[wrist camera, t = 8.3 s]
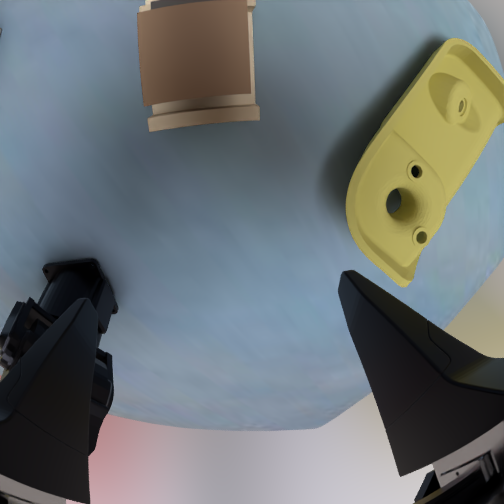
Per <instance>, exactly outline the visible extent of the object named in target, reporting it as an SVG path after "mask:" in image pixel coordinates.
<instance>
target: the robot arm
mask: <svg viewBox="0 0 504 504" xmlns="http://www.w3.org/2000/svg"><path fill="white" fill-rule="evenodd" d="M92 264H93V265H94V266H93V265H92ZM42 270H43V273H44V275H45V277H46V278H47V280H48V284H47V286H46V288H45V290H44V291H43V293H42V295H41V297H40V299H39V301H38V303H37V304H36V303H35V302H34V300H33V299H32V298H31V297H29V299H28V300H27V302H26V303H25V302H18V301H17V302H16V304H15V306H14V308H13V309H12V311H11V313H10V315H9V317H8V319H7V321H6V323H5V325H4V328H3V330H2V332H1V334H0V349H1V350H0V355H1V356H0V366H2V367H3V368H4V371H3V374H2V377H1V380H0V504H66V499H69V500H72V501H76V502H80V503H85V504H90V491H89V471H88V470H89V469H88V456H89V455H90V454H91V453H92V452H93V451H94V450H95V447H96V442H97V438H98V433H99V430H100V427H101V425H102V422H103V419H104V418H105V416H106V415H107V413H108V411H109V410H110V407H111V405H112V401H113V396H114V385H113V368H112V355H111V354H109V353H107V352H104V351H102V350H101V349H99V348H98V347H99V343H100V339H101V336H102V334H105V333H106V331H107V328H108V324H109V321H110V317H111V314H116V313H117V312H118V306H117V304H116V302H115V298H114V296H113V294H112V292H111V289H110V287H109V285H108V283H107V281H106V280H105V278H104V276H103V274H102V271H101V269H100V266H99V264H98V262H97V261H96V260H95V259H86V260H78V261H70V262H62V263H54V264H46V265H44V267H43V269H42ZM338 294H339V298H340V301H341V305H342V308H343V311H344V315H345V319H346V322H347V326H348V329H349V332H350V335H351V337H352V340H353V342H354V345H355V347H356V350H357V352H358V355H359V357H360V360H361V363H362V365H363V368H364V370H365V373H366V376H367V378H368V381H369V384H370V387H371V389H372V392H373V395H374V398H375V400H376V403H377V406H378V409H379V412H380V415H381V418H382V420H383V423H384V427H385V429H386V433H387V436H388V439H389V443H390V445H391V449H392V452H393V455H394V459H395V462H396V466H397V469H398V472H399V475H400V477H401V476H404V475H406V474H409V473H411V472H414V471H416V470H418V469H421V468H423V467H425V466H427V465H429V464H433V467H434V470H432V471H431V472H429V473H427V474H426V477H425V479H424V481H423V483H422V485H421V487H420V490H419V491H418V494H417V496H416V498H415V499H414V501H415V503H413V504H504V358H491V357H487V356H485V355H483V354H481V353H479V352H477V351H476V350H474V349H473V348H471V347H469V346H468V345H466V344H464V343H462V342H461V341H459V340H458V339H456V338H454V337H453V336H451V335H449V334H448V333H446V332H445V331H443V330H442V329H440V328H439V327H437V326H436V325H435V324H433V323H432V322H430V321H429V320H427V319H426V318H424V317H423V316H422V315H420V314H419V313H417V312H416V311H414V310H413V309H412V308H410V307H409V306H407V305H406V304H404V303H403V302H401V301H400V300H398V299H397V298H395V297H394V296H392V295H391V294H389V293H388V292H386V291H385V290H383V289H382V288H380V287H379V286H377V285H376V284H374V283H373V282H371V281H370V280H368V279H367V278H365V277H364V276H362V275H361V274H359V273H358V272H356V271H354V270H348V271H343V272H342V274H341V278H340V283H339V287H338Z"/></svg>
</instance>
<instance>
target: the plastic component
mask: <svg viewBox="0 0 504 504" xmlns="http://www.w3.org/2000/svg"><path fill="white" fill-rule="evenodd" d="M502 123H504V79H503V78H502V77H501V76H500V74H499V73H498V72H497V71H496V70H495V69H494V67H493V66H492V65H491V64H490V63H489V62H488V61H487V60H486V58H485V57H484V56H483V55H482V54H481V53H480V52H479V51H478V50H477V49H476V48H475V47H474V46H472V45H471V44H470V43H468V42H466V41H464V40H462V39H458V38H452V39H449V40H447V41H446V42H444V43H443V44H442V45H441V46H440V47H439V48H438V49H437V50H436V51H434V52H433V54H432V55H431V57H430V58H429V59H428V61H427V62H426V64H425V65H424V66H423V68H422V69H421V70H420V72H419V73H418V75H417V76H416V77H415V79H414V80H413V81H412V83H411V84H410V85H409V87H408V88H407V89H406V91H405V92H404V94H403V95H402V96H401V98H400V99H399V100H398V102H397V103H396V104H395V106H394V107H393V108H392V110H391V111H390V112H389V114H388V115H387V116H386V118H385V119H384V120H383V122H382V123H381V127H380V129H379V130H378V131H377V133H376V134H375V135H374V137H373V138H372V140H371V141H370V143H369V144H368V146H367V147H366V149H365V151H364V153H363V155H362V157H361V159H360V161H359V162H358V164H357V166H356V168H355V171H354V173H353V175H352V178H351V180H350V183H349V187H348V191H347V196H346V218H347V222H348V226H349V230H350V232H351V235H352V237H353V239H354V241H355V243H356V244H357V246H358V247H359V249H360V250H361V251H362V252H363V253H364V255H365V256H366V257H367V258H368V259H369V260H370V261H372V262H373V263H374V264H375V265H376V266H377V267H378V268H380V269H381V270H382V271H383V272H384V273H386V274H387V275H388V276H389V277H390V278H391V279H392V280H393V281H394V282H396V283H397V284H398V285H399V286H401V287H407V285H408V284H409V283H410V282H411V281H412V280H413V278H414V273H415V269H416V265H417V262H418V259H419V256H420V254H421V251H422V250H423V248H424V247H425V246H427V245H428V243H429V241H430V240H431V238H432V237H433V236H434V234H435V233H436V232H437V230H438V229H439V227H440V226H441V224H442V221H443V219H444V216H445V211H446V206H447V205H448V203H449V202H450V200H451V199H452V198H453V196H454V195H455V193H456V192H457V190H458V189H459V187H460V186H461V184H462V183H463V181H464V180H465V178H466V177H467V175H468V174H469V172H470V170H471V169H472V167H473V166H474V164H475V162H476V161H477V159H478V157H479V156H480V154H481V152H482V151H483V149H484V147H485V145H486V144H487V142H488V140H489V138H490V136H491V135H492V133H493V131H494V129H495V127H496V126H498V125H499V124H502ZM414 165H415V166H417V167H418V169H419V174H418V176H417V177H416V178H414V177H413V176H412V174H411V168H412V167H413V166H414ZM395 188H397V189H398V191H399V192H400V194H401V205H400V207H399V208H398V210H397V211H395V212H394V213H388V212H387V209H386V199H387V197H388V195H389V193H390V192H391V191H392V190H394V189H395Z"/></svg>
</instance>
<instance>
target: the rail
mask: <svg viewBox="0 0 504 504" xmlns="http://www.w3.org/2000/svg"><path fill="white" fill-rule="evenodd" d="M152 1H157V0H145V3H146V5H144V6H139V11H140V12H143V11H147V10H151V2H152ZM255 6H256V1H255V0H247V9H248V30H249V53H250V76H251V94H236V95H223V96H212V97H202V98H194V99H186V100H179V101H172V102H166V103H160V104H155V105H152V110H153V115H152V116H151V117H149V118H148V126H149V132H153V131H159V130H165V129H172V128H179V127H186V126H194V125H203V124H212V123H223V122H236V121H252V120H260V108H259V106H258V105H256V104H255V78H254V52H253V27H252V11H253V9H254V8H255Z"/></svg>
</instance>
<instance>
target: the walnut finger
mask: <svg viewBox="0 0 504 504" xmlns="http://www.w3.org/2000/svg"><path fill="white" fill-rule="evenodd" d="M137 26H138V47H139V61H140V73H141V84H142V94H143V102H144V106H150V105H155V104H160V103H166V102H172V101H179V100H186V99H194V98H202V97H212V96H223V95H236V94H251V76H250V53H249V30H248V9H247V0H157V1H152V2H151V10H147V11H143V12H139V13H137Z"/></svg>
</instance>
